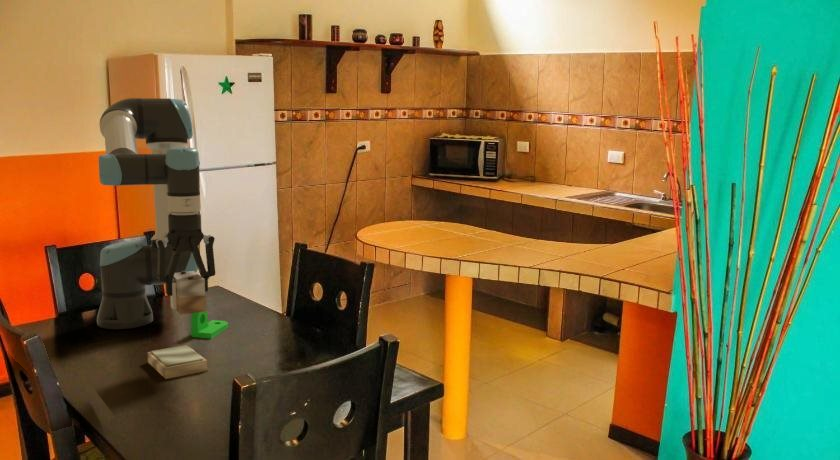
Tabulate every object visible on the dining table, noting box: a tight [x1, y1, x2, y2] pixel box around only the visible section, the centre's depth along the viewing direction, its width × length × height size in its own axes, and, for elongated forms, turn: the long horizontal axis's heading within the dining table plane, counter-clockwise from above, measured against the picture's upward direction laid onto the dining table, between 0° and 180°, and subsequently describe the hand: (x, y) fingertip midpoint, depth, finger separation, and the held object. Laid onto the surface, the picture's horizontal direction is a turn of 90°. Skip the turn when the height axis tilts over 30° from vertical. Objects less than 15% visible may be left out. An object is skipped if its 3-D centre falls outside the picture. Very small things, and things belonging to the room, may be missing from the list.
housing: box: [169, 271, 207, 316], centre depth 180 cm, size 6×10×8 cm, turn 32°
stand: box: [147, 344, 208, 380], centre depth 181 cm, size 14×10×3 cm
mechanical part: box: [190, 310, 229, 339], centre depth 209 cm, size 12×6×8 cm, turn 167°
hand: (187, 306), depth 181 cm, fingers closed on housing, 6 cm apart
